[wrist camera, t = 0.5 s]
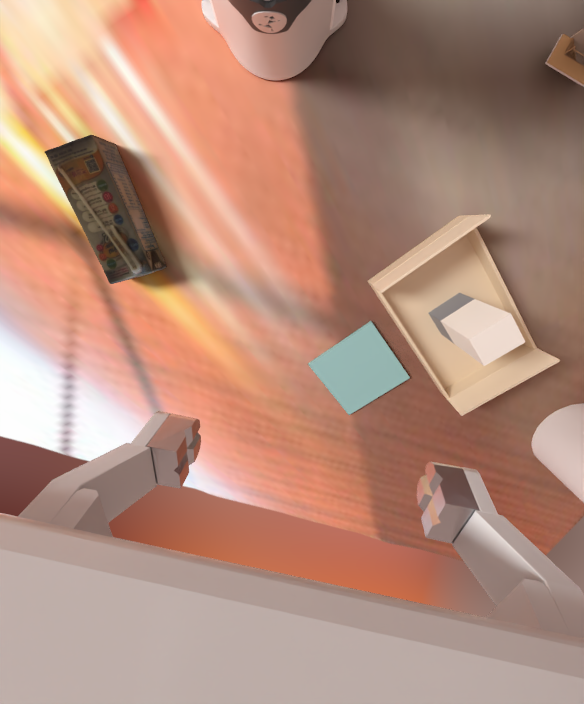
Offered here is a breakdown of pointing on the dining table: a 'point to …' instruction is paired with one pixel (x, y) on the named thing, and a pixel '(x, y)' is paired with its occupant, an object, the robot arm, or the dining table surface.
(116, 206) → the beverage carton
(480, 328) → the box
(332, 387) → the mat
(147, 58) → the dining table surface
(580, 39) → the architectural model
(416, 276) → the beige open box
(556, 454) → the canister
